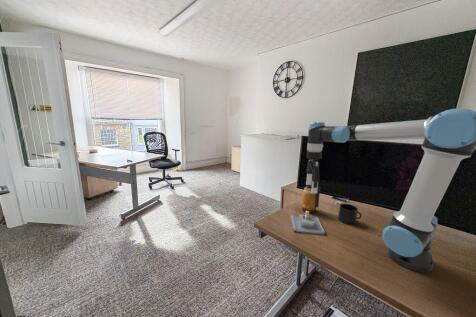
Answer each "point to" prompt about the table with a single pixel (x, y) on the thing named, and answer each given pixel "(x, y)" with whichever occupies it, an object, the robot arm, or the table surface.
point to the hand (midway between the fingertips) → (311, 188)
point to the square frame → (306, 221)
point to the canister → (310, 199)
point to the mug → (348, 214)
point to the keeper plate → (316, 230)
